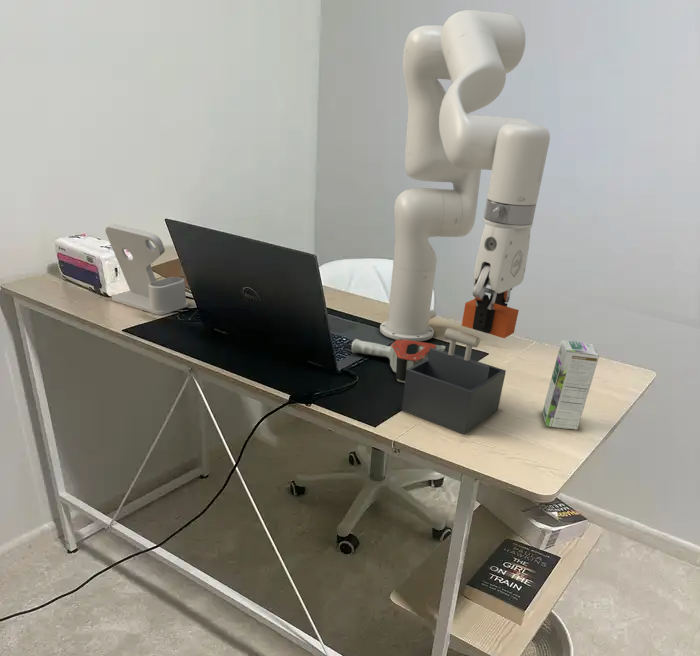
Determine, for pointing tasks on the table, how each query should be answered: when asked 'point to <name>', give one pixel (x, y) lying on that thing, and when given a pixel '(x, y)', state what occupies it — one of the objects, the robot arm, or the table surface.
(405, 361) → the tape dispenser
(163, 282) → the phone holder
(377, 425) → the table surface
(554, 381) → the syrup box
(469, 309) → the orange block
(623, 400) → the table surface
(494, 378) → the caddy
